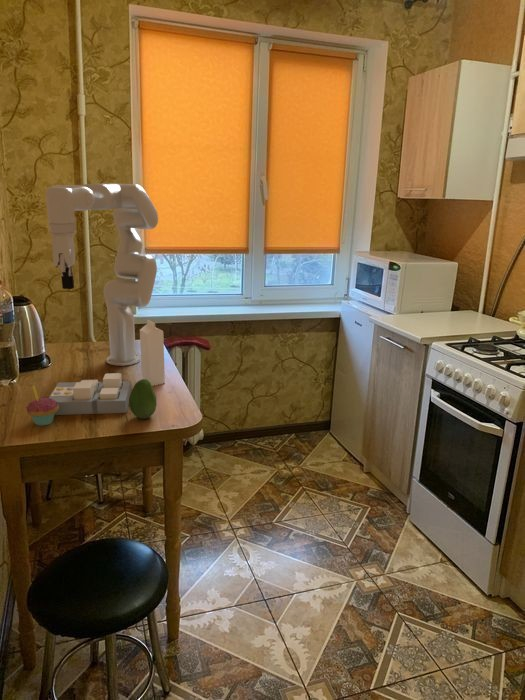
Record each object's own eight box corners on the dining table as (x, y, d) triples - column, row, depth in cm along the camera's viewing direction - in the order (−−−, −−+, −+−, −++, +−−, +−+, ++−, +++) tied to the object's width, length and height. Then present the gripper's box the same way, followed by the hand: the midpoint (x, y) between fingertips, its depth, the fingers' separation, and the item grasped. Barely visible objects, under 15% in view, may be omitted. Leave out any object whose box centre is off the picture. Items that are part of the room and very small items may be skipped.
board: (59, 394, 173) (58, 381, 172) (131, 392, 176) (131, 379, 175) (46, 415, 158) (45, 401, 156) (126, 412, 161) (125, 399, 159)
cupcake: (28, 430, 148) (23, 390, 144) (27, 418, 155) (23, 379, 152) (61, 425, 151) (57, 386, 148) (59, 414, 159) (55, 376, 155)
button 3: (106, 388, 173) (105, 373, 171) (122, 387, 173) (121, 373, 172) (103, 393, 168) (102, 379, 166) (120, 393, 168) (119, 378, 167)
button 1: (77, 397, 164) (76, 382, 163) (94, 397, 165) (93, 382, 164) (74, 403, 160) (73, 388, 158) (91, 403, 160) (90, 388, 159)
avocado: (159, 412, 162) (158, 375, 158) (154, 423, 154) (152, 385, 150) (133, 411, 162) (131, 374, 158) (126, 422, 154) (124, 384, 150)
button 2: (82, 394, 172) (81, 380, 171) (98, 394, 173) (97, 379, 171) (79, 400, 167) (78, 385, 166) (96, 400, 168) (95, 385, 167)
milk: (149, 387, 181) (146, 324, 175) (141, 381, 186) (138, 320, 179) (165, 383, 185) (163, 322, 178) (157, 378, 189) (155, 318, 183)
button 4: (103, 402, 166) (102, 388, 165) (119, 402, 167) (118, 387, 165) (100, 409, 161) (99, 394, 160) (117, 409, 162) (116, 393, 160)
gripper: (55, 226, 168) (61, 283, 174) (43, 231, 154) (50, 293, 160) (80, 226, 169) (85, 283, 175) (70, 231, 155) (76, 293, 161)
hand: (68, 288), depth 168 cm, fingers closed
